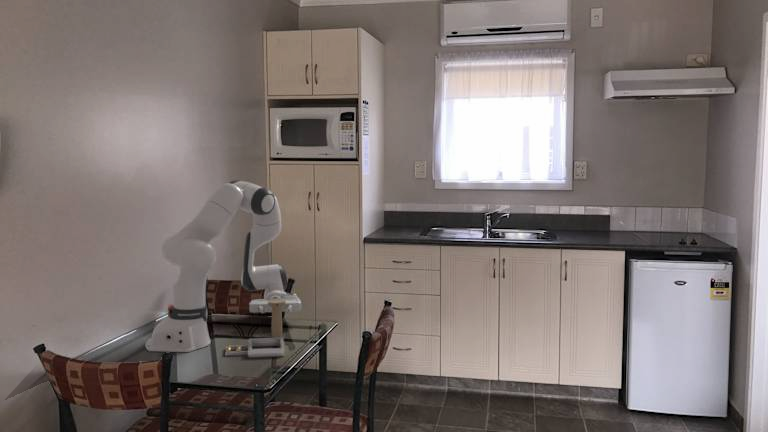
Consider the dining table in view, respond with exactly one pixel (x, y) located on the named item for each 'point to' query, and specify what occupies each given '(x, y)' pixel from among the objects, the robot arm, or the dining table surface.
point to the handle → (276, 317)
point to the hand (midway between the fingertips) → (275, 311)
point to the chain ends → (258, 352)
